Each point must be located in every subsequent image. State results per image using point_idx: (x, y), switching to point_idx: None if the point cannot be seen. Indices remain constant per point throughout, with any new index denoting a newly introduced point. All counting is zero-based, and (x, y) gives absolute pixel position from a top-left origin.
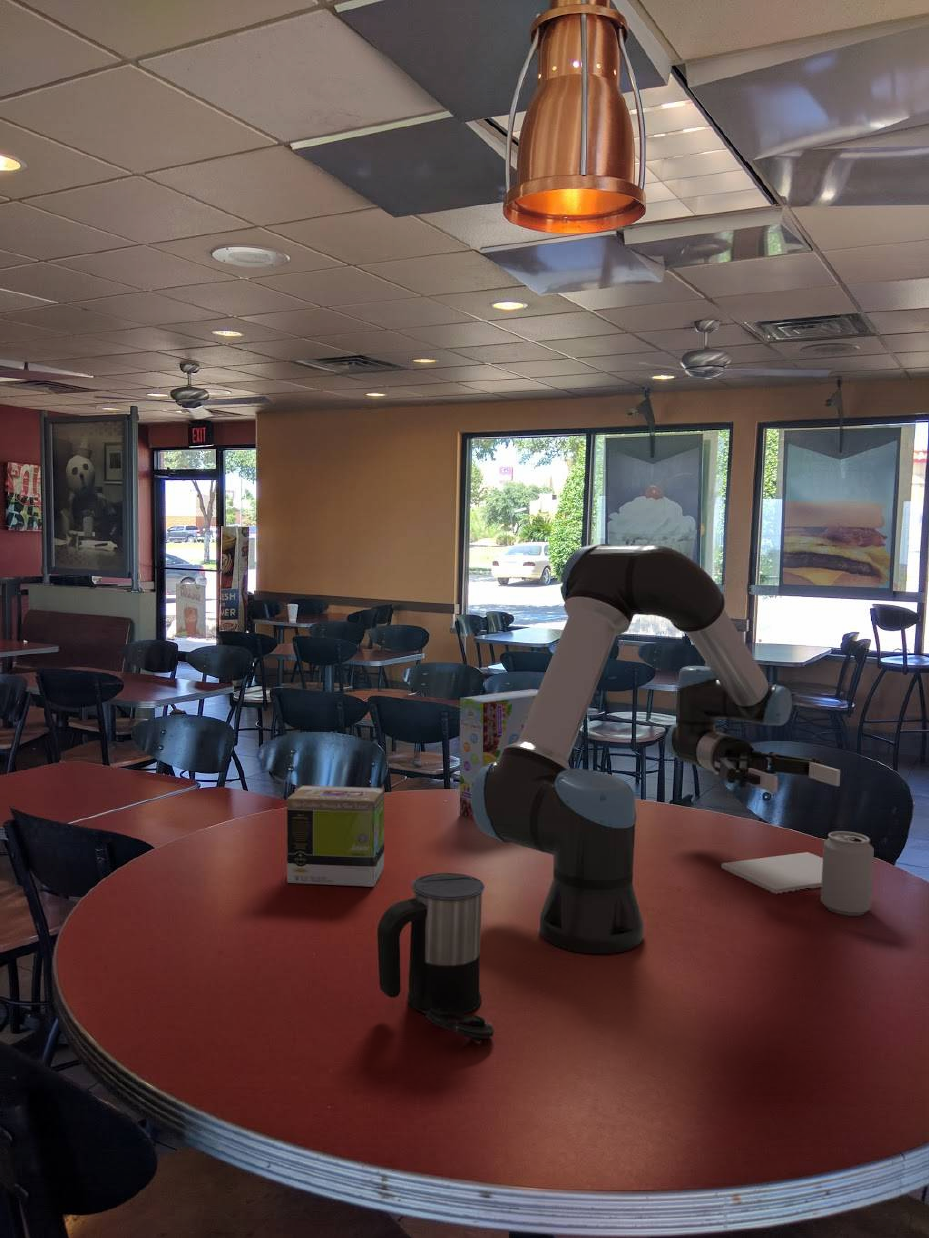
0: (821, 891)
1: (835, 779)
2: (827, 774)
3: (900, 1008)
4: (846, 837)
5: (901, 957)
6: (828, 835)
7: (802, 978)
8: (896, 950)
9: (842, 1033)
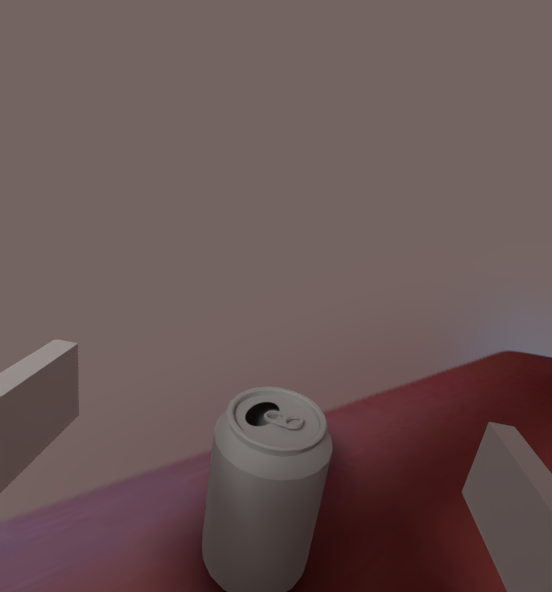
0: (297, 569)
1: (74, 390)
2: (32, 413)
3: (422, 389)
4: (285, 416)
5: (335, 422)
6: (316, 442)
7: None
8: None
9: (500, 396)
